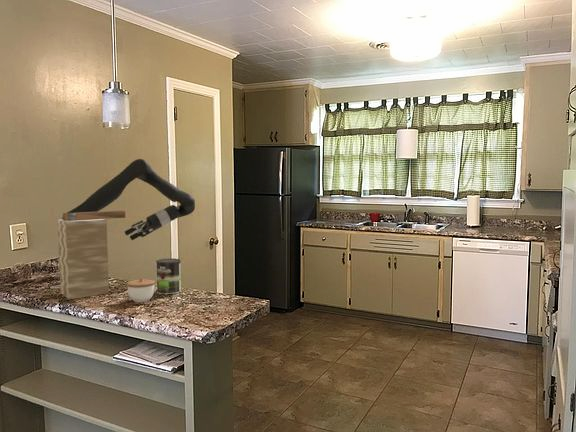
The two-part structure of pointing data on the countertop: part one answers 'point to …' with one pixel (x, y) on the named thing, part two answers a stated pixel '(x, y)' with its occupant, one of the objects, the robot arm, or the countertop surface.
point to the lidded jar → (141, 290)
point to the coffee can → (168, 276)
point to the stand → (83, 257)
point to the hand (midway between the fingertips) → (127, 236)
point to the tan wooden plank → (93, 215)
